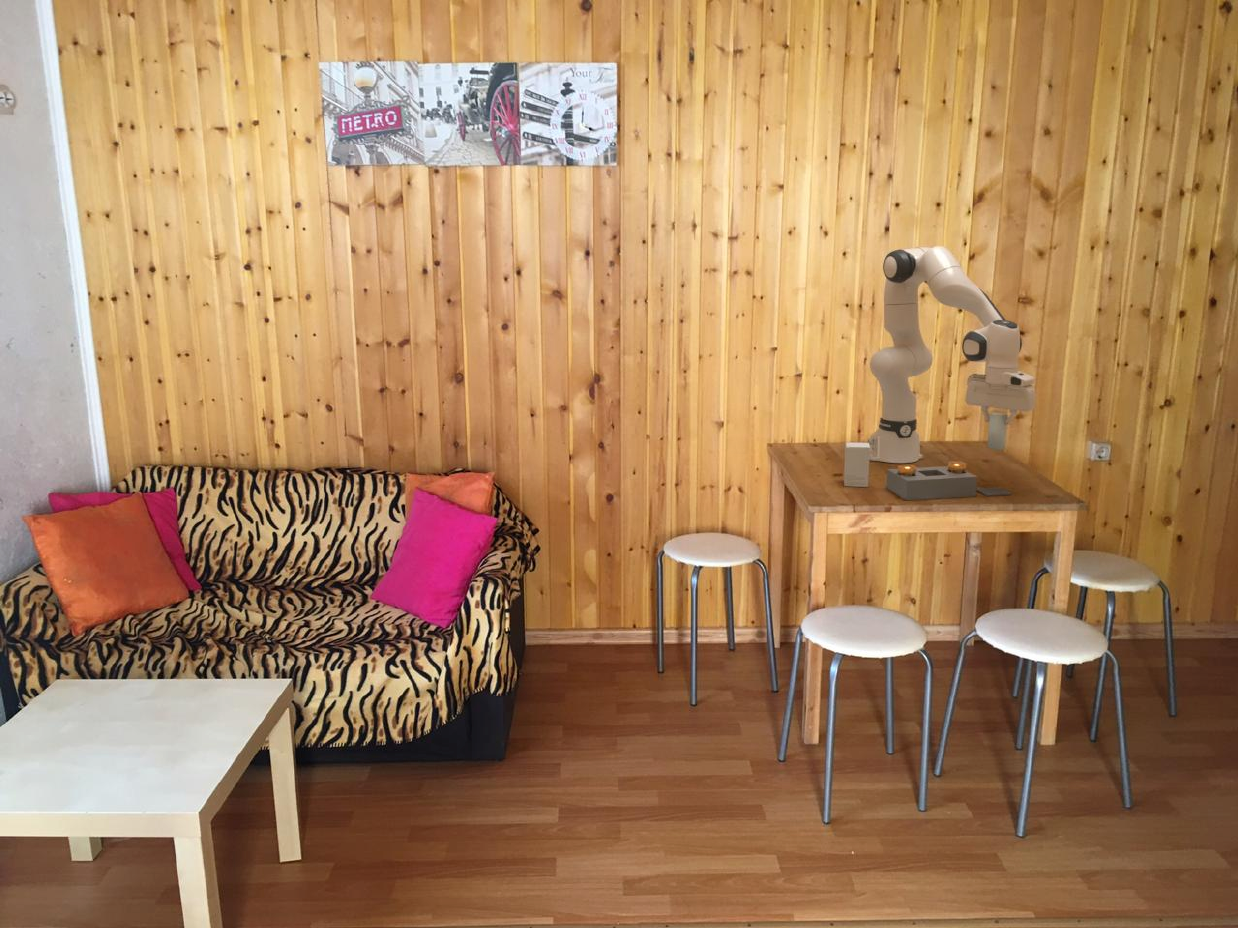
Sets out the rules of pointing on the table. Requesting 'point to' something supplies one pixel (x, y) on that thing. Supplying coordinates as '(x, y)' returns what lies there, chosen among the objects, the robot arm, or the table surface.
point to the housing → (932, 483)
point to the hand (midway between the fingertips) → (998, 422)
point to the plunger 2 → (956, 467)
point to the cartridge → (997, 430)
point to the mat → (993, 491)
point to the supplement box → (856, 464)
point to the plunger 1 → (906, 469)
